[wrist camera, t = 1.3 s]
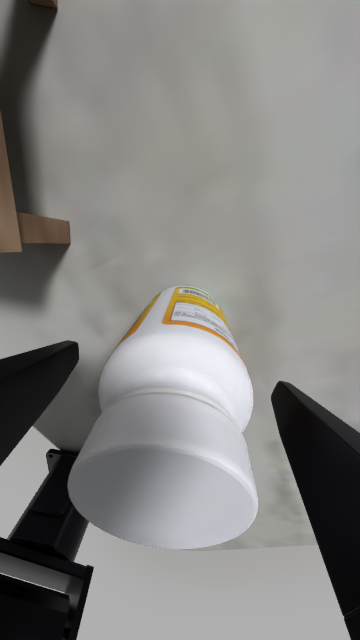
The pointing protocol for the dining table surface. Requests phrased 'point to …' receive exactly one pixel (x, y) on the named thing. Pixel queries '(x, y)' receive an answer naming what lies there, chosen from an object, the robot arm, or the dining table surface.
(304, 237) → the dining table surface
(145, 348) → the supplement bottle
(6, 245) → the stool
